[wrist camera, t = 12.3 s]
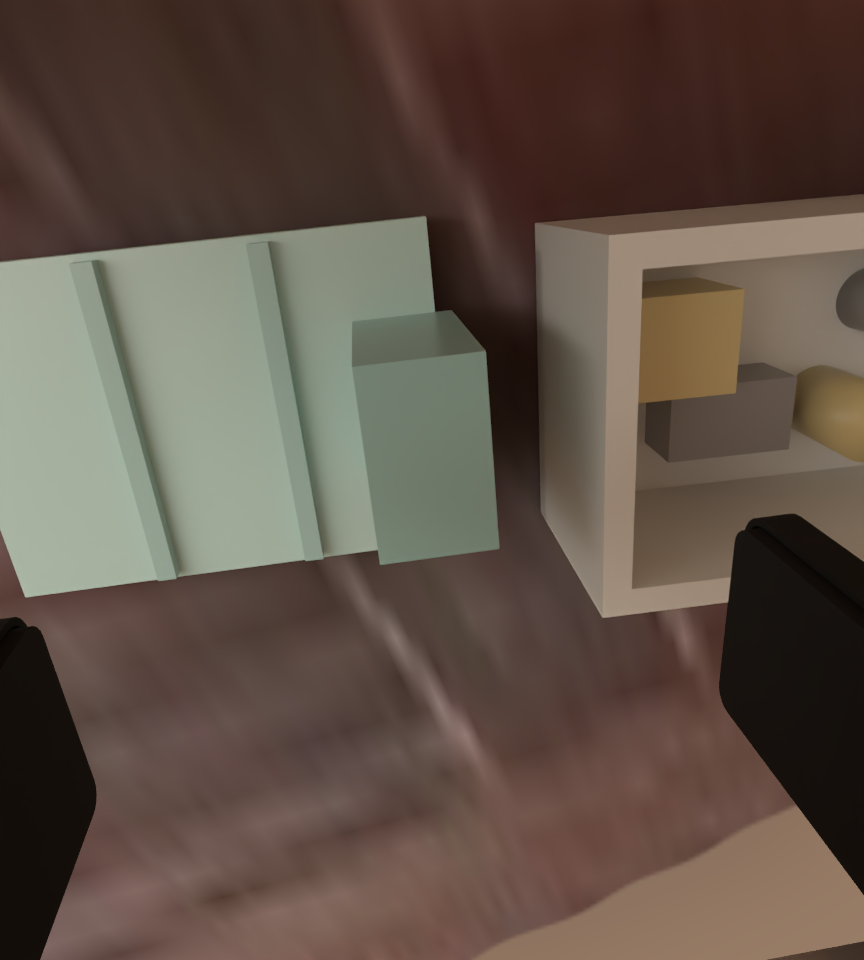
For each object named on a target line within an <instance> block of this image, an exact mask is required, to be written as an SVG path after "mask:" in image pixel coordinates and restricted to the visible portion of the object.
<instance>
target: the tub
mask: <svg viewBox="0 0 864 960" xmlns="http://www.w3.org/2000/svg"><path fill="white" fill-rule="evenodd" d="M535 261H536V308H537V355H538V403H539V450H540V498H541V514H542V515H543V517H544V519H545V520H546V522H547V524H548V526H549V527H550V529H551V531H552V532H553V534H554V536H555V538H556V539H557V541H558V543H559V544H560V546H561V548H562V549H563V551H564V553H565V555H566V556H567V558H568V560H569V561H570V563H571V565H572V567H573V568H574V570H575V572H576V573H577V575H578V577H579V578H580V580H581V582H582V584H583V585H584V587H585V589H586V590H587V592H588V594H589V596H590V597H591V599H592V601H593V602H594V604H595V606H596V608H597V609H598V611H599V613H600V614H601V616H602V618H606V617H614V616H622V615H630V614H638V613H646V612H654V611H662V610H670V609H678V608H686V607H694V606H702V605H710V604H718V603H726V602H728V598H729V589H730V580H731V571H732V561H733V552H734V543H735V538H736V536H737V534H738V532H740V531H741V530H745V528H746V526H747V524H748V522H749V521H750V520H752V519H753V518H760V517H768V516H775V515H783V514H793V513H795V514H797V515H799V516H801V517H802V518H804V519H805V520H806V521H808V522H809V523H811V524H812V525H813V526H815V527H816V528H818V529H819V530H820V531H822V532H823V533H825V534H826V535H827V536H829V537H830V538H832V539H833V540H834V541H836V542H837V543H838V544H840V545H841V546H843V547H844V548H845V549H847V550H848V551H850V552H851V553H852V554H854V555H855V556H857V557H858V558H859V559H861V560H862V561H864V194H858V195H847V196H835V197H824V198H813V199H801V200H790V201H779V202H767V203H756V204H745V205H733V206H722V207H710V208H699V209H688V210H676V211H665V212H654V213H642V214H631V215H620V216H608V217H597V218H586V219H574V220H563V221H552V222H540V223H535Z"/></svg>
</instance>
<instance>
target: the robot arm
mask: <svg viewBox="0 0 864 960" xmlns="http://www.w3.org/2000/svg"><path fill="white" fill-rule="evenodd" d="M719 690H720V696H721V699H722V703H723V705H724V707H725V709H726V711H727V712H728V714H729V715H730V716H731V718H732V719H733V720H734V722H735V723H736V724H737V726H738V727H739V728H740V730H741V731H742V732H743V734H744V735H745V736H746V738H747V739H748V740H749V742H750V743H751V744H752V746H753V747H754V749H755V750H756V751H757V753H758V754H759V755H760V757H761V758H762V759H763V761H764V762H765V763H766V765H767V766H768V767H769V769H770V770H771V771H772V773H773V774H774V775H775V777H776V778H777V779H778V781H779V782H780V783H781V785H782V786H783V787H784V789H785V790H786V791H787V793H788V794H789V795H790V797H791V798H792V799H793V801H794V802H795V803H796V805H797V806H798V807H799V809H800V810H801V811H802V813H803V814H804V815H805V817H806V818H807V820H808V821H809V822H810V824H811V825H812V826H813V828H814V829H815V830H816V831H817V833H818V834H819V836H820V837H821V838H822V839H823V841H824V842H825V844H826V845H827V846H828V848H829V849H830V850H831V852H832V853H833V854H834V856H835V857H836V858H837V860H838V861H839V862H840V864H841V865H842V866H843V868H844V869H845V870H846V872H847V873H848V874H849V876H850V877H851V878H852V880H853V881H854V883H855V884H856V885H857V886H858V888H859V889H860V890H861V892H862V893H863V895H864V561H862V560H861V559H859V558H858V557H857V556H855V555H854V554H852V553H851V552H850V551H848V550H847V549H845V548H844V547H843V546H841V545H840V544H838V543H837V542H836V541H834V540H833V539H832V538H830V537H829V536H827V535H826V534H825V533H823V532H822V531H820V530H819V529H818V528H816V527H815V526H813V525H812V524H811V523H809V522H808V521H806V520H805V519H804V518H802V517H801V516H799V515H797V514H795V513H793V514H783V515H775V516H768V517H760V518H753V519H752V520H750V521H749V522H748V524H747V526H746V528H745V530H741V531H740V532H738V534H737V536H736V538H735V543H734V552H733V561H732V571H731V580H730V589H729V598H728V607H727V617H726V626H725V635H724V644H723V653H722V663H721V672H720V681H719ZM95 806H96V785H95V781H94V778H93V775H92V772H91V770H90V767H89V764H88V761H87V758H86V756H85V753H84V750H83V747H82V744H81V742H80V739H79V736H78V733H77V730H76V727H75V725H74V722H73V719H72V716H71V713H70V711H69V708H68V705H67V702H66V699H65V697H64V694H63V691H62V688H61V685H60V683H59V680H58V677H57V674H56V671H55V668H54V666H53V663H52V660H51V657H50V654H49V652H48V649H47V646H46V643H45V640H44V638H43V635H42V633H41V631H40V630H39V629H38V628H37V627H35V626H31V627H27V625H26V624H25V623H24V622H23V620H22V619H20V618H17V617H13V618H5V619H0V960H40V958H41V956H42V953H43V950H44V947H45V945H46V942H47V939H48V937H49V934H50V931H51V928H52V926H53V923H54V920H55V918H56V915H57V912H58V909H59V907H60V904H61V901H62V898H63V896H64V893H65V890H66V888H67V885H68V882H69V879H70V877H71V874H72V871H73V869H74V866H75V863H76V860H77V858H78V855H79V852H80V850H81V847H82V844H83V841H84V839H85V836H86V833H87V831H88V828H89V825H90V822H91V820H92V817H93V814H94V811H95ZM769 960H864V942H859V943H853V944H848V945H843V946H838V947H832V948H827V949H822V950H816V951H811V952H806V953H801V954H795V955H790V956H784V957H780V958H774V959H769Z"/></svg>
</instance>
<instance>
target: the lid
mask: <svg viewBox="0 0 864 960" xmlns="http://www.w3.org/2000/svg"><path fill="white" fill-rule="evenodd" d="M0 530H1V533H2V535H3V538H4V541H5V543H6V546H7V549H8V552H9V554H10V557H11V560H12V562H13V565H14V568H15V571H16V573H17V576H18V579H19V581H20V584H21V587H22V590H23V592H24V595H25V597H32V596H39V595H47V594H54V593H62V592H69V591H76V590H84V589H91V588H99V587H106V586H114V585H121V584H128V583H136V582H143V581H151V580H158V581H163V580H171V579H177V577H180V576H188V575H195V574H203V573H210V572H218V571H225V570H232V569H240V568H247V567H255V566H262V565H270V564H277V563H284V562H292V561H299V560H305V561H312V560H319V559H324V557H329V556H336V555H344V554H351V553H359V552H366V551H374V550H378V554H379V561H380V565H384V564H391V563H399V562H406V561H413V560H421V559H428V558H435V557H443V556H450V555H457V554H465V553H472V552H480V551H487V550H494V549H499V535H498V521H497V506H496V491H495V477H494V462H493V448H492V433H491V418H490V404H489V389H488V374H487V360H486V351H485V349H484V348H483V347H482V346H481V345H480V343H479V342H478V341H477V340H476V339H475V337H474V336H473V335H472V334H471V333H470V331H469V330H468V329H467V328H466V327H465V325H464V324H463V323H462V322H461V321H460V320H459V318H458V317H457V316H456V315H455V314H454V312H453V311H452V310H448V311H439V312H435V306H434V295H433V284H432V274H431V263H430V253H429V242H428V231H427V221H426V216H417V217H408V218H398V219H389V220H380V221H370V222H361V223H352V224H342V225H333V226H324V227H315V228H305V229H296V230H287V231H277V232H268V233H259V234H250V235H240V236H231V237H222V238H212V239H203V240H194V241H185V242H175V243H166V244H157V245H147V246H138V247H129V248H119V249H110V250H101V251H92V252H82V253H73V254H64V255H54V256H45V257H36V258H27V259H17V260H8V261H0Z"/></svg>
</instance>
